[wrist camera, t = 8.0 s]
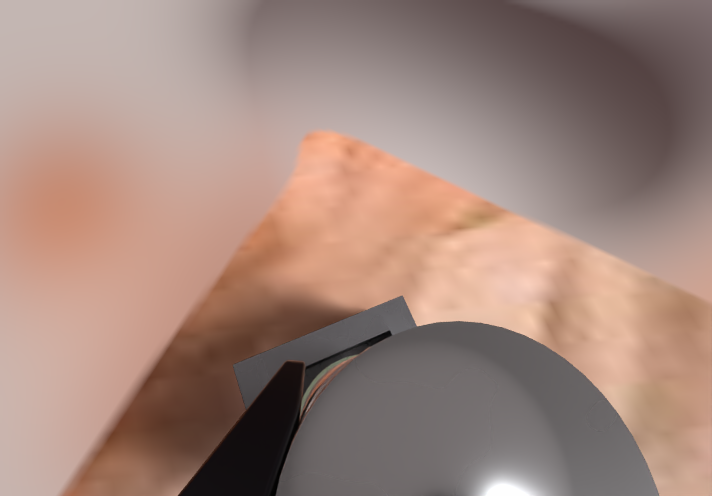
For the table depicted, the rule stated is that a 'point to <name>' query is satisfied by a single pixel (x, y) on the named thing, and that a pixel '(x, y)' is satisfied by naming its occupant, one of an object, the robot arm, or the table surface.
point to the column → (460, 422)
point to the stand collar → (324, 346)
